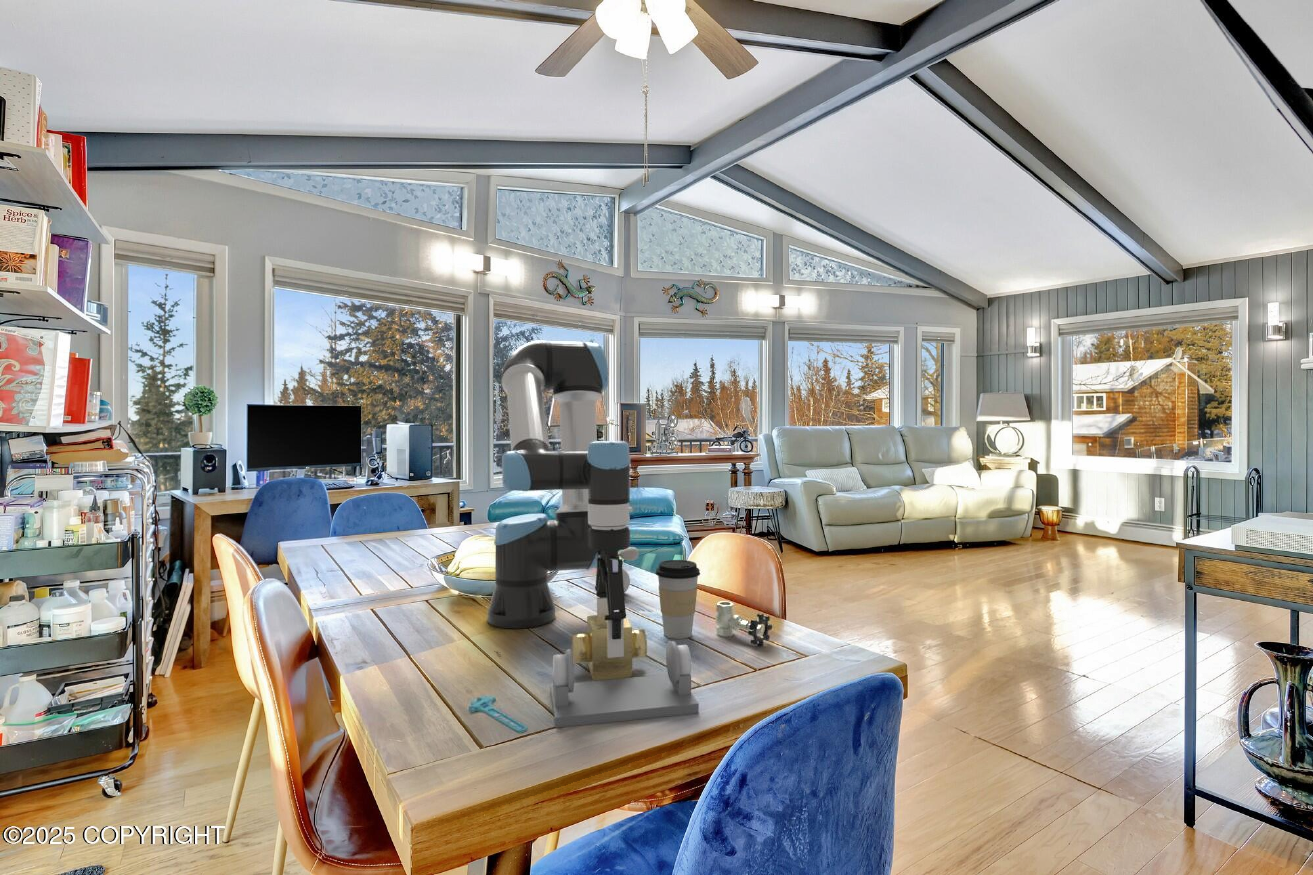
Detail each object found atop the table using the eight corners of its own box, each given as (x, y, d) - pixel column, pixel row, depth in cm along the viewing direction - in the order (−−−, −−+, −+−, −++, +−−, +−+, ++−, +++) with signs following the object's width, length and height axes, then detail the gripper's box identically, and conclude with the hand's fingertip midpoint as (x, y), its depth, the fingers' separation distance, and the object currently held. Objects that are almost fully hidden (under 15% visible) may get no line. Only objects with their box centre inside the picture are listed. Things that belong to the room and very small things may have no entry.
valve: (707, 635, 136) (751, 650, 127) (707, 604, 136) (751, 617, 127) (728, 628, 141) (772, 642, 132) (728, 598, 140) (772, 610, 132)
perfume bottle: (595, 594, 167) (595, 548, 167) (622, 587, 174) (622, 543, 174) (614, 600, 162) (614, 552, 162) (642, 592, 169) (642, 547, 169)
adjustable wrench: (461, 702, 102) (489, 692, 106) (461, 708, 102) (489, 698, 106) (510, 732, 92) (539, 720, 96) (510, 739, 92) (539, 727, 96)
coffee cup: (686, 645, 130) (686, 571, 130) (646, 636, 135) (646, 565, 135) (707, 631, 138) (708, 562, 138) (669, 624, 143) (670, 557, 143)
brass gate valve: (571, 664, 120) (571, 616, 119) (640, 659, 123) (640, 612, 122) (575, 682, 112) (575, 630, 112) (648, 675, 115) (648, 625, 114)
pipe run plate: (550, 693, 107) (550, 638, 107) (679, 682, 112) (679, 629, 112) (555, 727, 95) (555, 666, 95) (698, 712, 100) (698, 654, 100)
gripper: (643, 536, 105) (643, 666, 105) (618, 516, 129) (618, 621, 130) (597, 538, 103) (598, 670, 104) (581, 517, 128) (581, 624, 128)
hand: (609, 643), depth 117 cm, fingers open, 13 cm apart
